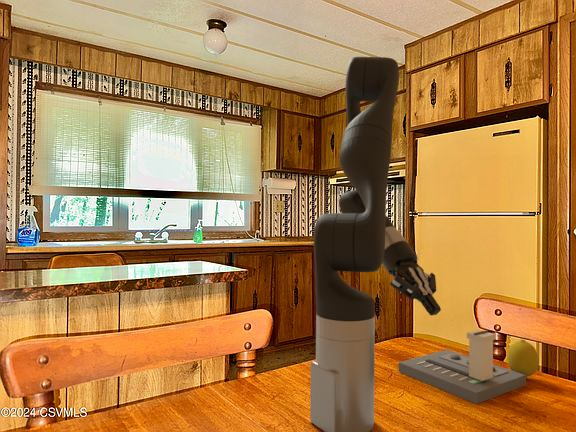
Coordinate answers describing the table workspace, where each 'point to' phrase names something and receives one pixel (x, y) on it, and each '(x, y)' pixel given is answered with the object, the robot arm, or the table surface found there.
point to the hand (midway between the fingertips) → (436, 312)
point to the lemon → (523, 358)
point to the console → (460, 376)
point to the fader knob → (481, 354)
